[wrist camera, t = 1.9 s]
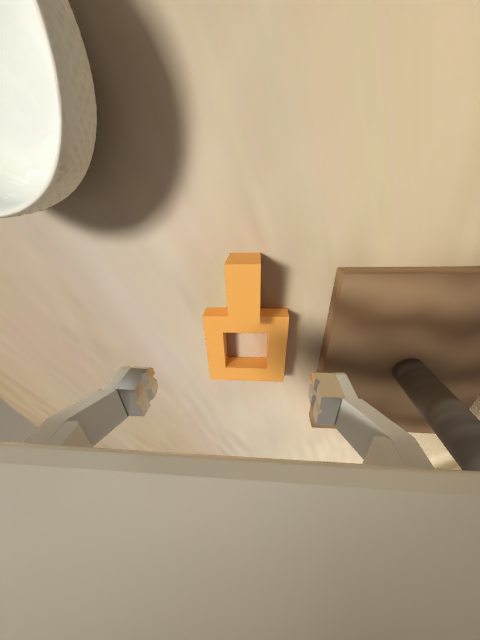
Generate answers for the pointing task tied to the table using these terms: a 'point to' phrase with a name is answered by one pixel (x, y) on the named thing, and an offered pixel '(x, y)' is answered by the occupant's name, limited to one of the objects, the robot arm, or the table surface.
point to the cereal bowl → (43, 105)
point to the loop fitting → (245, 325)
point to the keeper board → (411, 349)
